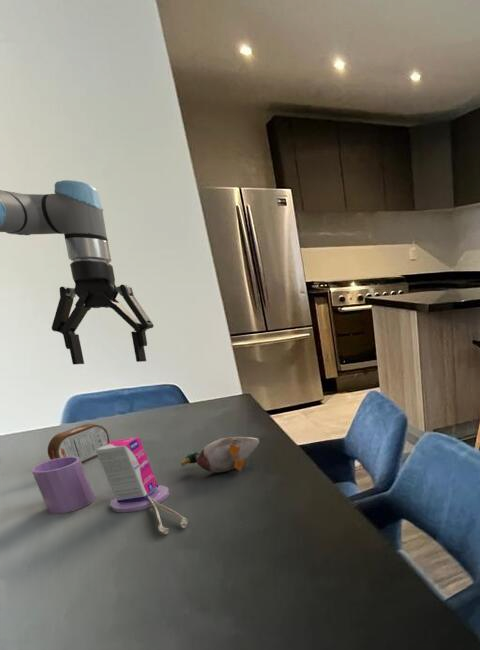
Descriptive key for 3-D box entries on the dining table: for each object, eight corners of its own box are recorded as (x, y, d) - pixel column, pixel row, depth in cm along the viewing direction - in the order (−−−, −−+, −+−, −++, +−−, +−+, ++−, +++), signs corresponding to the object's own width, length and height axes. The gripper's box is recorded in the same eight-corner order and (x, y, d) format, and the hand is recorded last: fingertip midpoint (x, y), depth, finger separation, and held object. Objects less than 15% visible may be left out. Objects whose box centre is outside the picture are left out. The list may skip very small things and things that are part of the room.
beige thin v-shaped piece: (190, 526, 89) (187, 516, 88) (162, 536, 86) (158, 527, 85) (162, 498, 101) (159, 489, 100) (137, 507, 98) (134, 498, 97)
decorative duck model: (168, 448, 109) (222, 425, 121) (180, 479, 112) (232, 453, 124) (212, 450, 102) (265, 425, 115) (224, 482, 105) (275, 454, 117)
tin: (106, 448, 131) (95, 418, 128) (116, 449, 131) (105, 418, 127) (53, 472, 118) (40, 439, 115) (64, 472, 117) (51, 439, 114)
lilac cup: (43, 517, 96) (25, 475, 92) (53, 501, 102) (37, 461, 99) (90, 507, 99) (75, 466, 95) (97, 492, 105) (82, 453, 102)
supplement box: (146, 498, 98) (123, 445, 93) (117, 503, 97) (92, 450, 93) (160, 486, 103) (139, 435, 98) (132, 490, 103) (110, 440, 98)
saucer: (107, 517, 94) (106, 513, 94) (115, 496, 103) (113, 492, 103) (168, 503, 98) (167, 499, 98) (170, 484, 107) (169, 480, 107)
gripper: (159, 263, 110) (175, 359, 115) (43, 267, 109) (63, 364, 113) (141, 257, 103) (159, 360, 107) (16, 261, 101) (39, 365, 106)
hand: (110, 363), depth 110 cm, fingers open, 13 cm apart
